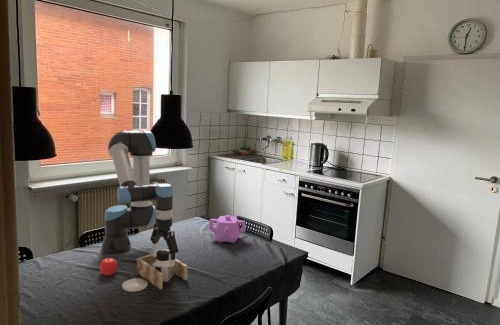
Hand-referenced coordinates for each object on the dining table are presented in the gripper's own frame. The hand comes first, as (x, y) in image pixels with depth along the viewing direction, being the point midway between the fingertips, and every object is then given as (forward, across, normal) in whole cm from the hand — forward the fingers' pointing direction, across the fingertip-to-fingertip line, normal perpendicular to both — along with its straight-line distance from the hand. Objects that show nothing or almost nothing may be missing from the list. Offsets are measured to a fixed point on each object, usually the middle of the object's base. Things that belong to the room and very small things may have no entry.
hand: (163, 261), depth 178 cm
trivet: (+8, -1, -14) cm, 16 cm away
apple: (+8, -19, -18) cm, 28 cm away
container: (+8, 0, 0) cm, 8 cm away
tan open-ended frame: (+8, -1, 0) cm, 8 cm away
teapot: (+8, -17, +55) cm, 58 cm away
